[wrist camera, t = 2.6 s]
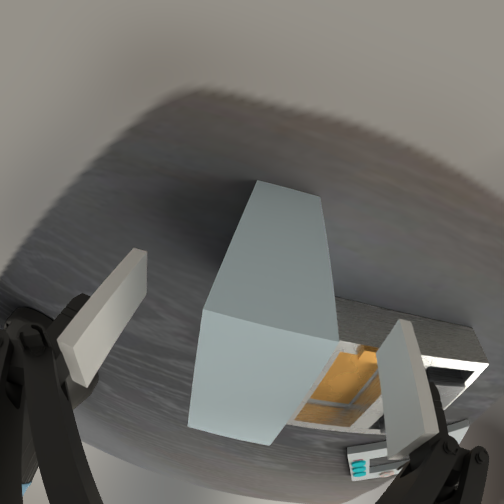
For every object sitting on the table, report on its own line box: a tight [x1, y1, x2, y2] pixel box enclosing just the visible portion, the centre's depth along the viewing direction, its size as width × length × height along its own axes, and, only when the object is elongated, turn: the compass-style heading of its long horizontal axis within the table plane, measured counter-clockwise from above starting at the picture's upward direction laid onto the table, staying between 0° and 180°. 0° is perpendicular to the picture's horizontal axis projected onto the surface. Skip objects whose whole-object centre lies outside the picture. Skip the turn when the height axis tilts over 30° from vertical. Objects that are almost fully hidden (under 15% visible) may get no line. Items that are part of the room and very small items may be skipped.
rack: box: [286, 297, 489, 435], centre depth 23 cm, size 15×12×6 cm
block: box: [188, 180, 339, 446], centre depth 16 cm, size 4×8×12 cm, turn 168°
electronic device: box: [347, 419, 469, 481], centre depth 35 cm, size 18×2×15 cm
